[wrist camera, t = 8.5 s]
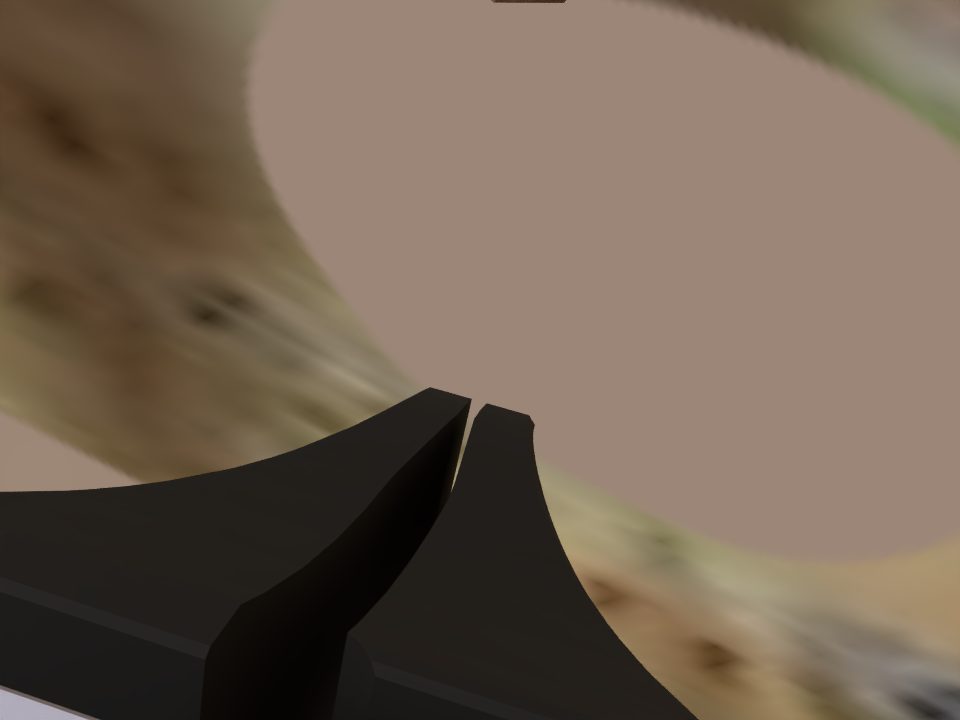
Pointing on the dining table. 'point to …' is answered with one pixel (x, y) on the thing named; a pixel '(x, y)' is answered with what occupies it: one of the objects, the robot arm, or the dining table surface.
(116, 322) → the dining table surface
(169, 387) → the dining table surface
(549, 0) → the domino
